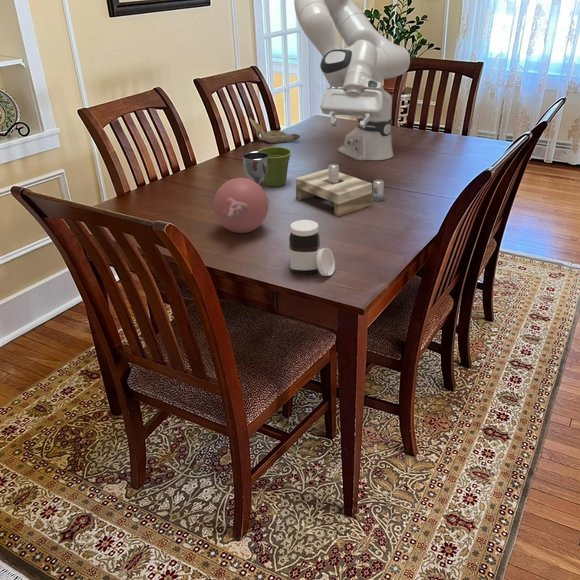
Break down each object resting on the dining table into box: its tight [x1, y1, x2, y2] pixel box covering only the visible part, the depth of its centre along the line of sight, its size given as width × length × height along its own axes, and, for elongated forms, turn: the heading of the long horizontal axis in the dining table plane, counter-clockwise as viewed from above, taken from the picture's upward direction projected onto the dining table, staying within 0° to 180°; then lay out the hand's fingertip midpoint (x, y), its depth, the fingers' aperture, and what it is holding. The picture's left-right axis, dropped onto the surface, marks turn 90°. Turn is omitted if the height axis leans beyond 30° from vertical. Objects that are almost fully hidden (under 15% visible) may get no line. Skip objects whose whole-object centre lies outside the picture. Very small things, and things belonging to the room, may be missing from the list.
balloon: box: [213, 177, 269, 234], centre depth 165 cm, size 15×20×15 cm
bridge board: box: [295, 168, 373, 218], centre depth 186 cm, size 20×14×7 cm
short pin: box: [372, 179, 385, 202], centre depth 188 cm, size 3×3×6 cm
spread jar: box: [288, 219, 336, 277], centre depth 146 cm, size 12×11×12 cm
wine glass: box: [242, 151, 269, 186], centre depth 187 cm, size 8×8×15 cm
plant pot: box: [256, 146, 293, 187], centre depth 201 cm, size 12×12×11 cm
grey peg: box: [327, 163, 340, 205], centre depth 185 cm, size 3×3×12 cm
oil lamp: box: [248, 117, 301, 144], centre depth 247 cm, size 9×21×10 cm, turn 79°
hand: (347, 126), depth 187 cm, fingers open, 8 cm apart
